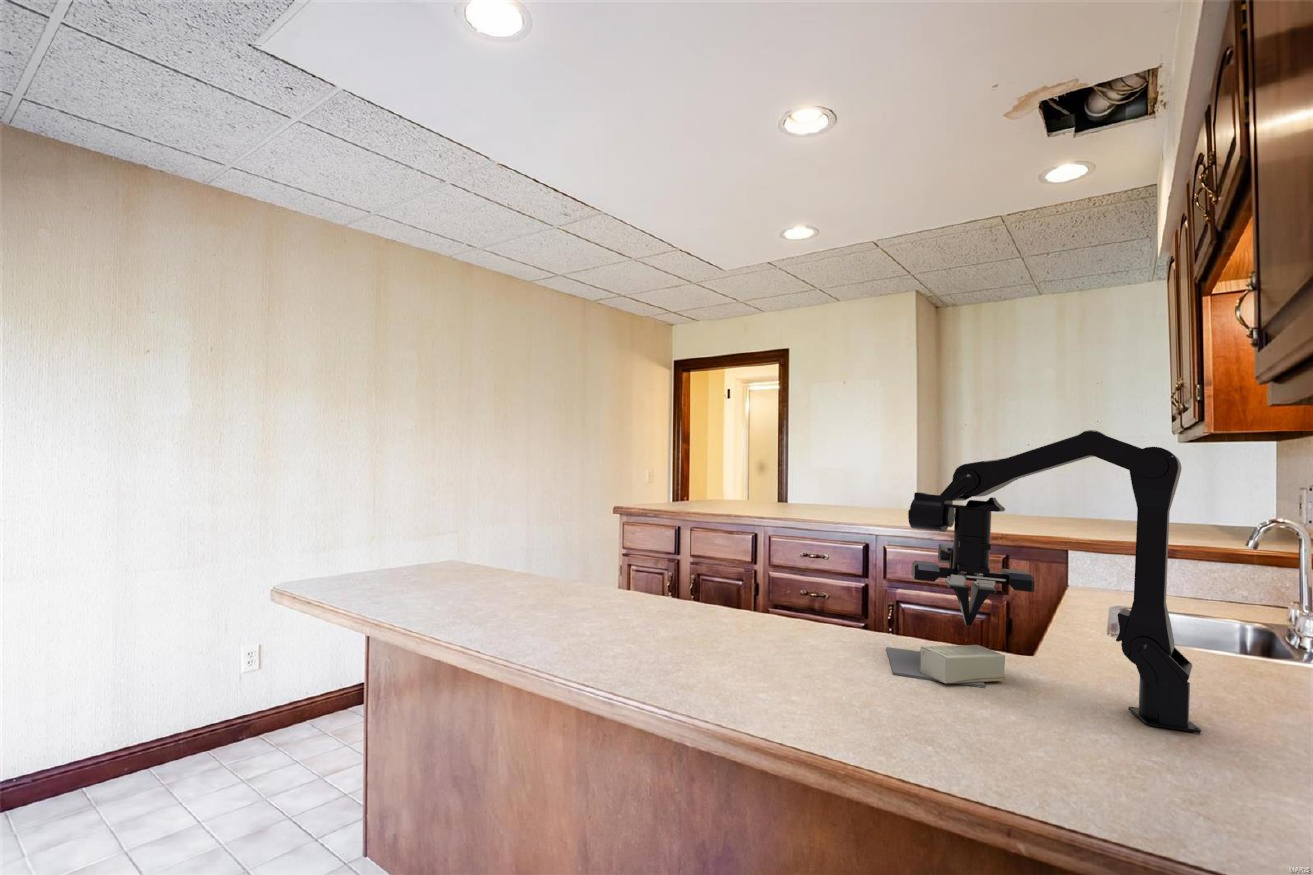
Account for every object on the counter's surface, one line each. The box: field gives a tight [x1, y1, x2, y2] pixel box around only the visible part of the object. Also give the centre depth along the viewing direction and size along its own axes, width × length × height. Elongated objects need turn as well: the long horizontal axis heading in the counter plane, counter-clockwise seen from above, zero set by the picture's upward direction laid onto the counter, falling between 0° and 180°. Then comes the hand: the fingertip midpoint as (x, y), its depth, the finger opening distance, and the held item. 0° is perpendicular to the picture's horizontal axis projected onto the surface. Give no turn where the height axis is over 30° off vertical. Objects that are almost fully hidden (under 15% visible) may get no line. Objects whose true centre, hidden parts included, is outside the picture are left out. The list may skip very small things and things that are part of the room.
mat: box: [885, 646, 987, 688], centre depth 111 cm, size 16×14×1 cm
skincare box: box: [920, 644, 1006, 684], centre depth 106 cm, size 6×4×12 cm
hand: (968, 625), depth 110 cm, fingers closed
